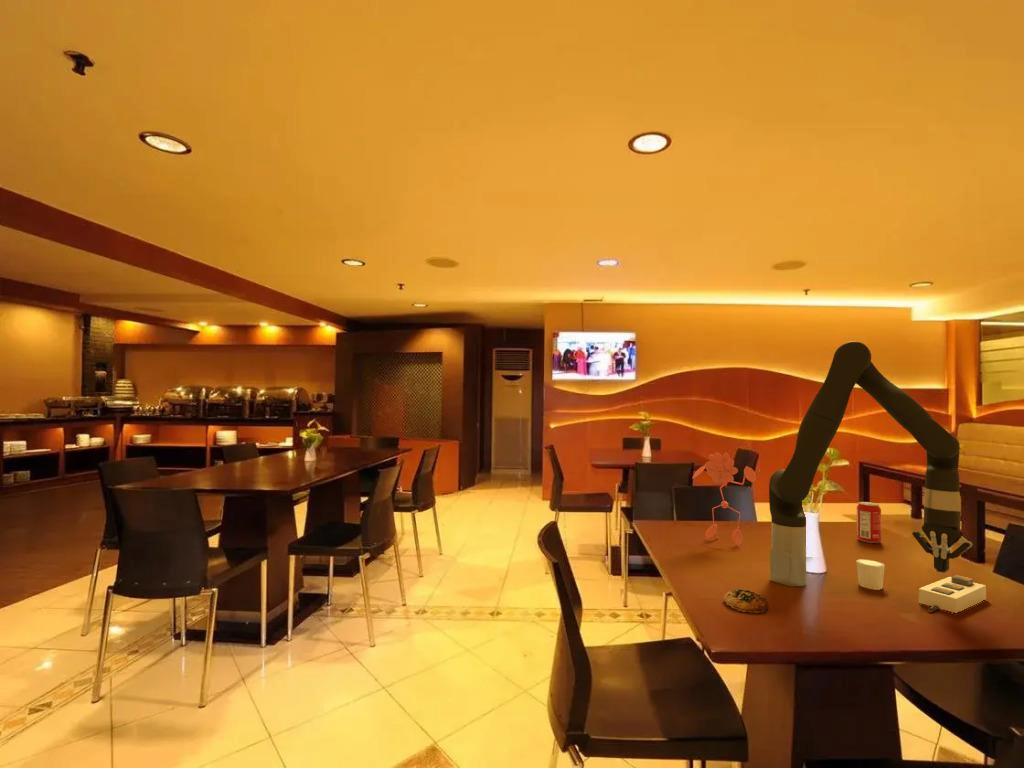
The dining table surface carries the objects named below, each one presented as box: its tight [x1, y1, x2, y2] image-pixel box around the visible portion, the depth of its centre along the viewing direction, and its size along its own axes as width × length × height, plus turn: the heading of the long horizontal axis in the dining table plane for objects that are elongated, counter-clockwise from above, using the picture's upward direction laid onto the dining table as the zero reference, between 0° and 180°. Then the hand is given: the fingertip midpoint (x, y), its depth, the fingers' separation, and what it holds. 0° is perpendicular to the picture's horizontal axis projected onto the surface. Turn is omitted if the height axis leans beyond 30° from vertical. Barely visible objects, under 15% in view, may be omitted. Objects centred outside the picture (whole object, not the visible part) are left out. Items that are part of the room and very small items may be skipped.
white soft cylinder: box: [855, 558, 886, 591], centre depth 149 cm, size 7×7×7 cm
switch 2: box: [951, 574, 974, 587], centre depth 141 cm, size 4×4×2 cm
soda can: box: [856, 501, 882, 544], centre depth 199 cm, size 8×8×15 cm
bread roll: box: [723, 588, 770, 614], centre depth 133 cm, size 11×11×5 cm
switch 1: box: [931, 587, 954, 595], centre depth 135 cm, size 4×4×2 cm
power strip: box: [918, 576, 987, 613], centre depth 137 cm, size 24×8×4 cm, turn 120°
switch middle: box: [942, 583, 964, 591], centre depth 138 cm, size 4×4×2 cm
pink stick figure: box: [691, 451, 757, 547], centre depth 191 cm, size 15×26×35 cm, turn 40°
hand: (941, 571), depth 135 cm, fingers closed
